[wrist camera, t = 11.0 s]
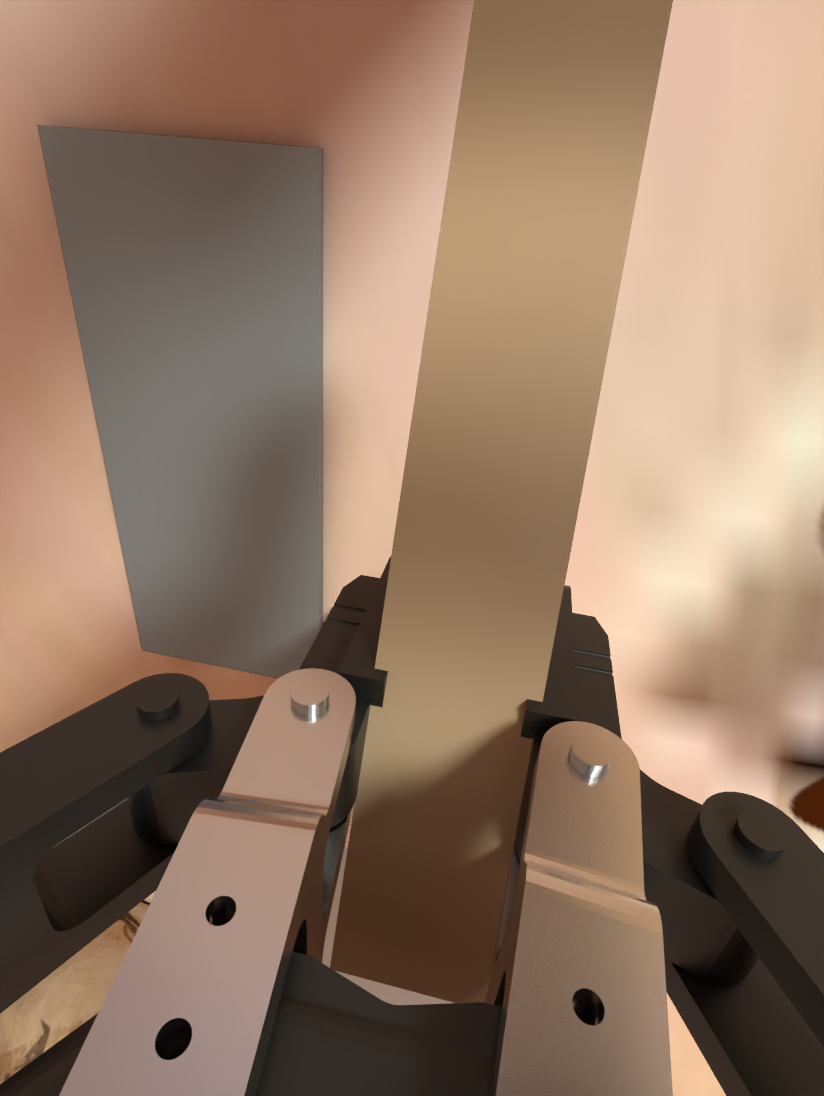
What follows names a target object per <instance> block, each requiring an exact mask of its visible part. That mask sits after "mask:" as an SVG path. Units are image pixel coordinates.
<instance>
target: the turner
mask: <svg viewBox="0 0 824 1096" xmlns="http://www.w3.org/2000/svg"><path fill="white" fill-rule="evenodd" d="M672 2H673V0H475V1H474V7H473V14H472V21H471V27H470V34H469V41H468V48H467V54H466V61H465V68H464V74H463V81H462V88H461V94H460V101H459V108H458V114H457V121H456V128H455V134H454V141H453V148H452V154H451V161H450V168H449V174H448V181H447V188H446V195H445V201H444V208H443V215H442V221H441V228H440V235H439V241H438V248H437V255H436V261H435V268H434V275H433V281H432V288H431V295H430V301H429V308H428V315H427V321H426V328H425V335H424V342H423V348H422V355H421V362H420V368H419V375H418V382H417V388H416V395H415V402H414V408H413V415H412V422H411V428H410V435H409V442H408V448H407V455H406V462H405V468H404V475H403V482H402V489H401V495H400V502H399V509H398V515H397V522H396V529H395V535H394V542H393V549H392V555H391V562H390V569H389V575H388V582H387V589H386V595H385V602H384V609H383V615H382V622H381V629H380V636H379V642H378V649H377V656H376V662H375V669H380V670H385V671H388V675H387V681H386V688H385V694H384V701H383V707H378V706H373V705H370V711H369V718H368V724H367V731H366V738H365V744H364V751H363V757H362V764H361V771H360V777H359V784H358V791H357V797H356V800H355V803H354V809H353V816H352V819H350V824H349V829H348V834H347V838H346V843H345V847H344V852H343V857H342V861H341V866H340V871H339V875H338V880H337V885H336V889H335V894H334V898H333V903H332V908H331V912H330V917H329V922H328V926H327V931H326V937H325V943H324V950H323V959H322V963H323V964H324V965H326V966H328V967H329V968H331V969H332V970H334V971H336V972H337V973H339V974H341V975H342V976H344V977H345V978H347V979H349V980H350V981H352V982H353V983H355V984H357V985H358V986H360V987H361V988H363V989H365V990H366V991H368V992H369V993H371V994H373V995H374V996H376V997H377V998H379V999H381V1000H382V1001H384V1002H386V1003H389V1004H393V1005H420V1004H447V1003H474V1002H485V999H486V994H487V990H488V985H489V980H490V974H491V969H492V963H493V957H494V951H495V945H496V939H497V933H498V927H499V921H500V916H501V910H502V904H503V898H504V892H505V886H506V880H507V874H508V868H509V864H510V859H511V855H512V851H513V846H514V842H515V839H516V829H517V824H518V819H519V813H520V808H521V803H522V797H523V792H524V786H525V781H526V776H527V770H528V765H529V760H530V754H531V749H532V743H533V739H530V738H525V737H520V736H521V730H522V725H523V720H524V714H525V709H526V703H527V699H530V700H535V701H540V702H543V697H544V692H545V686H546V681H547V675H548V670H549V665H550V659H551V654H552V649H553V643H554V638H555V632H556V627H557V622H558V616H559V611H560V605H561V600H562V595H563V589H564V584H565V578H566V573H567V568H568V562H569V557H570V552H571V546H572V541H573V535H574V530H575V525H576V519H577V514H578V508H579V503H580V498H581V492H582V487H583V482H584V476H585V471H586V465H587V460H588V455H589V449H590V444H591V438H592V433H593V428H594V422H595V417H596V411H597V406H598V401H599V395H600V390H601V385H602V379H603V374H604V368H605V363H606V358H607V352H608V347H609V341H610V336H611V331H612V325H613V320H614V314H615V309H616V304H617V298H618V293H619V288H620V282H621V277H622V271H623V266H624V261H625V255H626V250H627V244H628V239H629V234H630V228H631V223H632V217H633V212H634V207H635V201H636V196H637V191H638V185H639V180H640V174H641V169H642V164H643V158H644V153H645V147H646V142H647V137H648V131H649V126H650V120H651V115H652V110H653V104H654V99H655V94H656V88H657V83H658V77H659V72H660V67H661V61H662V56H663V50H664V45H665V40H666V34H667V29H668V24H669V18H670V13H671V7H672Z"/></svg>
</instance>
